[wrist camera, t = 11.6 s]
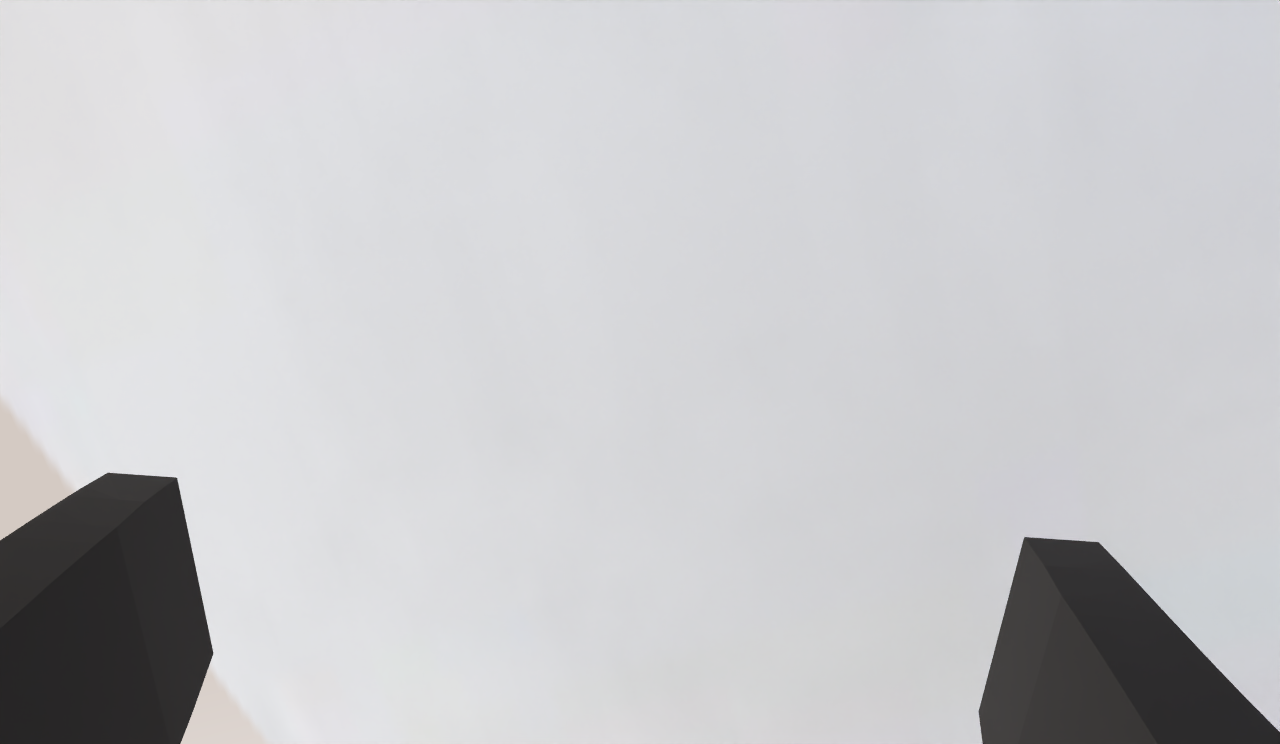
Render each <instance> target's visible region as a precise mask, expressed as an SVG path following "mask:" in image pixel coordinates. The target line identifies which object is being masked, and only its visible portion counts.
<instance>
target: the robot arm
mask: <svg viewBox="0 0 1280 744" xmlns="http://www.w3.org/2000/svg"><path fill="white" fill-rule="evenodd" d="M212 656H213V649H212V645H211V640H210V635H209V630H208V625H207V620H206V616H205V611H204V606H203V601H202V596H201V592H200V587H199V582H198V577H197V572H196V567H195V563H194V558H193V553H192V548H191V543H190V538H189V534H188V529H187V524H186V519H185V514H184V509H183V505H182V500H181V495H180V490H179V485H178V481H177V478H174V477H159V476H145V475H131V474H117V473H107V474H105V475H103V476H102V477H100V478H98V479H96V480H95V481H93V482H91V483H89V484H88V485H86V486H84V487H83V488H81V489H79V490H78V491H76V492H75V493H73V494H71V495H70V496H68V497H67V498H65V499H63V500H62V501H60V502H59V503H57V504H56V505H54V506H52V507H51V508H50V509H48V510H46V511H45V512H43V513H42V514H40V515H39V516H37V517H35V518H34V519H32V520H31V521H29V522H28V523H26V524H25V525H23V526H22V527H20V528H19V529H17V530H16V531H14V532H13V533H11V534H10V535H8V536H6V537H5V538H3V539H2V540H0V744H180V743H181V741H182V738H183V735H184V733H185V730H186V728H187V725H188V723H189V720H190V717H191V715H192V712H193V710H194V707H195V704H196V701H197V698H198V695H199V692H200V690H201V687H202V684H203V681H204V678H205V676H206V673H207V670H208V667H209V664H210V661H211V659H212ZM979 718H980V725H981V733H982V741H983V744H1280V732H1279V731H1278V730H1277V729H1276V728H1275V727H1274V726H1273V725H1272V724H1271V723H1270V722H1269V721H1268V720H1267V719H1266V718H1265V717H1264V716H1263V715H1262V714H1261V713H1260V712H1259V711H1258V710H1257V709H1256V708H1255V707H1254V706H1253V705H1252V704H1251V703H1250V702H1249V701H1248V700H1247V699H1246V698H1245V697H1244V696H1243V695H1242V694H1241V693H1240V692H1239V690H1238V689H1237V688H1236V687H1235V686H1234V685H1233V684H1232V683H1231V682H1230V681H1229V680H1228V679H1227V678H1226V677H1225V676H1224V675H1223V674H1222V673H1221V672H1220V671H1219V670H1218V669H1217V668H1216V667H1215V665H1214V664H1213V663H1212V662H1211V661H1210V660H1209V659H1208V658H1207V657H1206V656H1205V655H1204V654H1203V653H1202V652H1201V651H1200V650H1199V649H1198V647H1197V646H1196V645H1195V644H1194V643H1193V642H1192V641H1191V640H1190V639H1189V638H1188V637H1187V636H1186V635H1185V634H1184V633H1183V631H1182V630H1181V629H1180V628H1179V627H1178V626H1177V625H1176V624H1175V623H1174V622H1173V621H1172V620H1171V619H1170V618H1169V617H1168V615H1167V614H1166V613H1165V612H1164V611H1163V610H1162V609H1161V608H1160V607H1159V606H1158V605H1157V604H1156V602H1155V601H1154V600H1153V599H1152V598H1151V597H1150V596H1149V595H1148V594H1147V593H1146V592H1145V591H1144V590H1143V588H1142V587H1141V586H1140V585H1139V584H1138V583H1137V582H1136V581H1135V580H1134V579H1133V578H1132V577H1131V576H1130V575H1129V573H1128V572H1127V571H1126V570H1125V569H1124V568H1123V567H1122V566H1121V565H1120V564H1119V563H1118V562H1117V561H1116V560H1115V559H1114V558H1113V557H1112V556H1111V555H1110V554H1109V553H1108V552H1107V550H1106V549H1105V548H1104V547H1103V546H1102V545H1101V544H1100V543H1099V542H1086V541H1072V540H1057V539H1043V538H1029V537H1024V540H1023V544H1022V548H1021V552H1020V556H1019V559H1018V563H1017V567H1016V571H1015V575H1014V578H1013V582H1012V586H1011V590H1010V594H1009V598H1008V601H1007V605H1006V609H1005V613H1004V617H1003V621H1002V624H1001V628H1000V632H999V636H998V640H997V644H996V647H995V651H994V655H993V659H992V663H991V667H990V670H989V674H988V678H987V682H986V686H985V690H984V693H983V697H982V701H981V705H980V709H979Z"/></svg>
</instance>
